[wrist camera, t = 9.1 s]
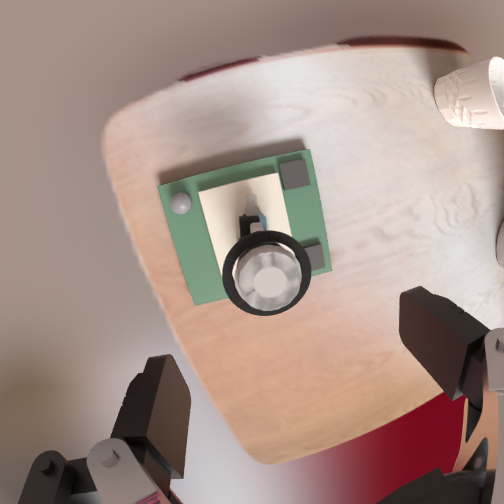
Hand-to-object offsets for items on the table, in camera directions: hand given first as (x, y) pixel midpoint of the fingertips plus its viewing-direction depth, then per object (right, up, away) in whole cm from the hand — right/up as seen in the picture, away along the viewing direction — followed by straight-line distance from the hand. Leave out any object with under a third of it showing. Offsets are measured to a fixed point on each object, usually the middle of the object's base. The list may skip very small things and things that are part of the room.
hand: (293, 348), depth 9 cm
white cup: (+23, +22, +16) cm, 36 cm away
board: (-2, +5, +18) cm, 19 cm away
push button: (-1, +5, +16) cm, 17 cm away
